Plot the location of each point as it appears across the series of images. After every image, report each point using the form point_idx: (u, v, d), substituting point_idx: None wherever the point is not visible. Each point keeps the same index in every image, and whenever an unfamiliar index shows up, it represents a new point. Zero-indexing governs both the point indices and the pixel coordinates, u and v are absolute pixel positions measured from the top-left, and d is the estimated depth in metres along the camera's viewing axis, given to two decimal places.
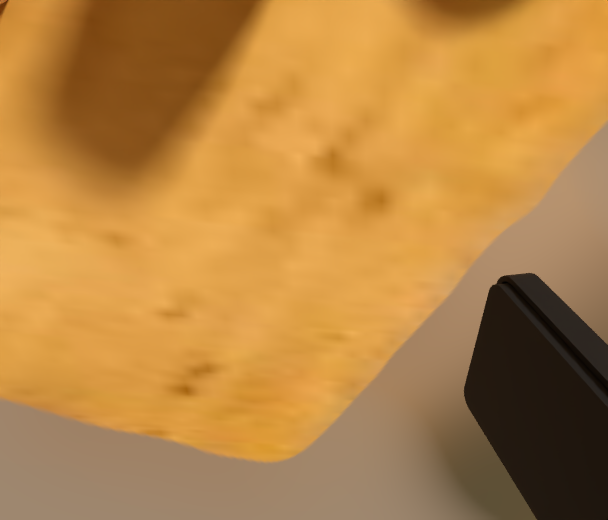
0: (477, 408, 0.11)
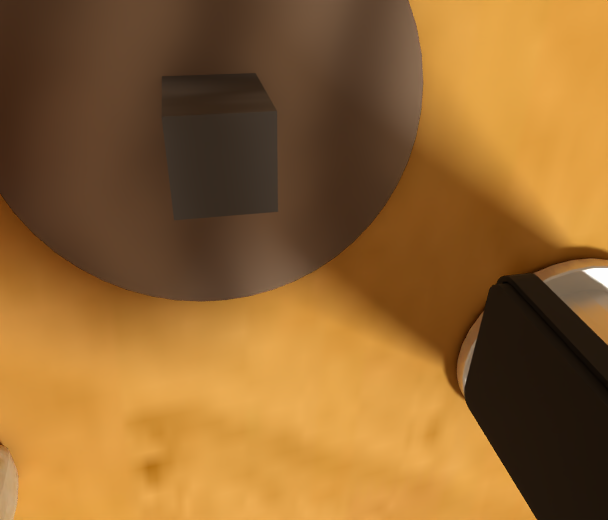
0: (477, 408, 0.11)
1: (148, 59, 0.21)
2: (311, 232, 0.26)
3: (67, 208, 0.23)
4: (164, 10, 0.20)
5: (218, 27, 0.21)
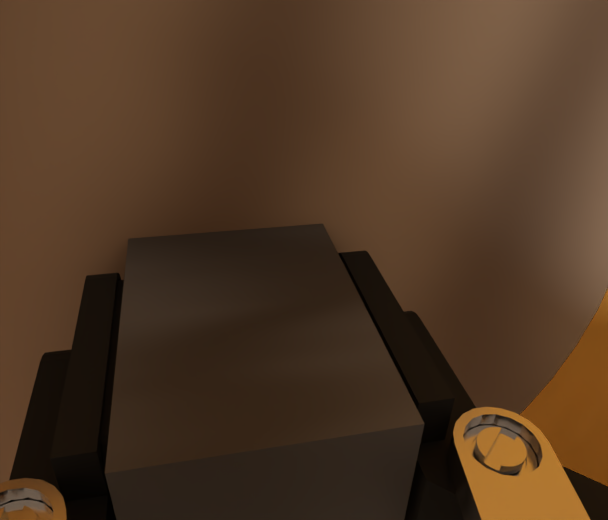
0: None
1: (98, 209, 0.10)
2: None
3: None
4: (131, 110, 0.09)
5: (251, 141, 0.09)
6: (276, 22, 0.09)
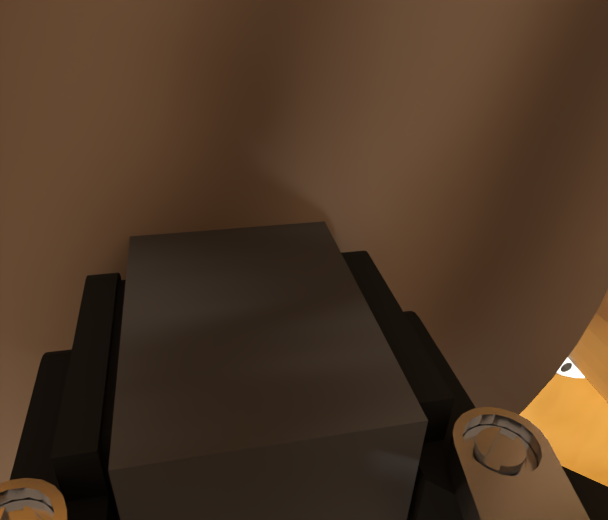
0: None
1: (100, 207, 0.10)
2: None
3: None
4: (133, 108, 0.09)
5: (253, 139, 0.09)
6: (278, 19, 0.09)
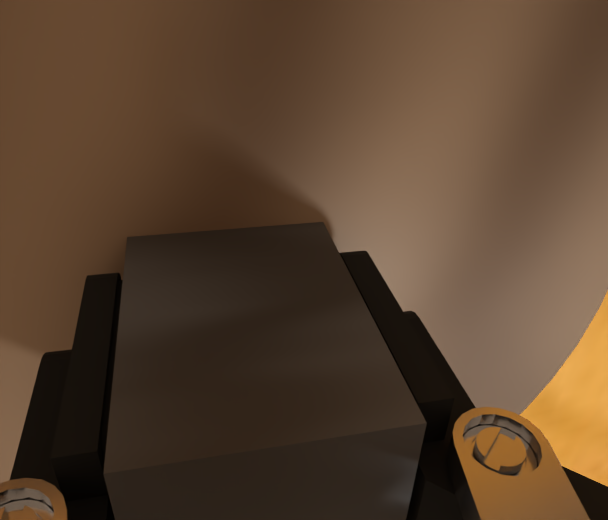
0: None
1: (97, 207, 0.09)
2: None
3: None
4: (130, 107, 0.09)
5: (251, 139, 0.09)
6: (276, 18, 0.08)
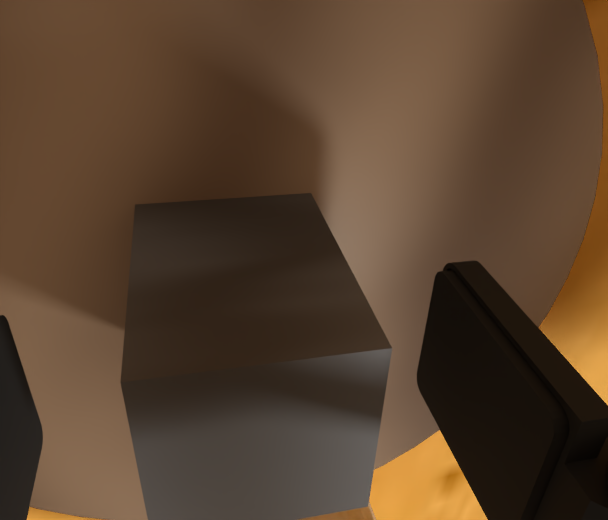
0: (427, 393, 0.11)
1: (108, 176, 0.11)
2: (382, 419, 0.16)
3: None
4: (139, 86, 0.10)
5: (246, 116, 0.11)
6: (267, 8, 0.10)
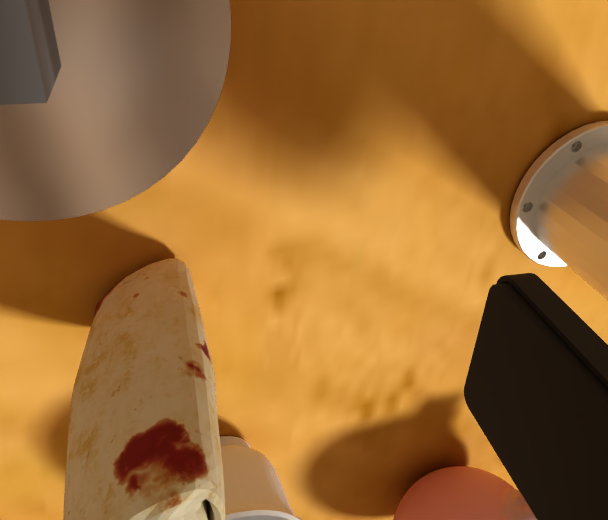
0: (477, 408, 0.11)
1: None
2: (134, 149, 0.26)
3: None
4: None
5: None
6: None
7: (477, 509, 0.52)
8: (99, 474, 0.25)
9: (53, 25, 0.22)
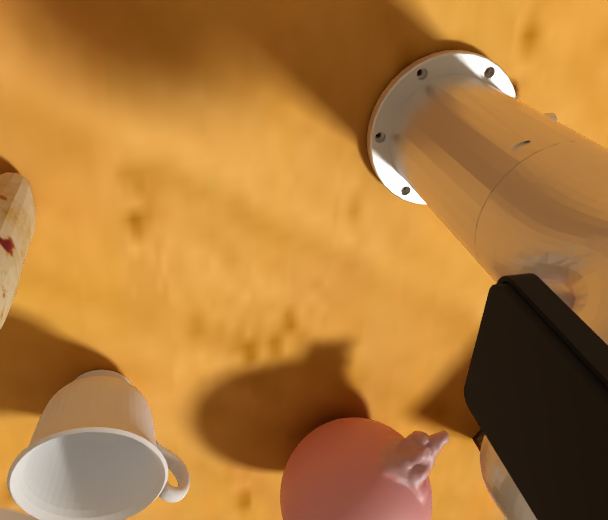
0: (477, 408, 0.11)
1: None
2: None
3: None
4: None
5: None
6: None
7: (355, 452, 0.52)
8: None
9: None
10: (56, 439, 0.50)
